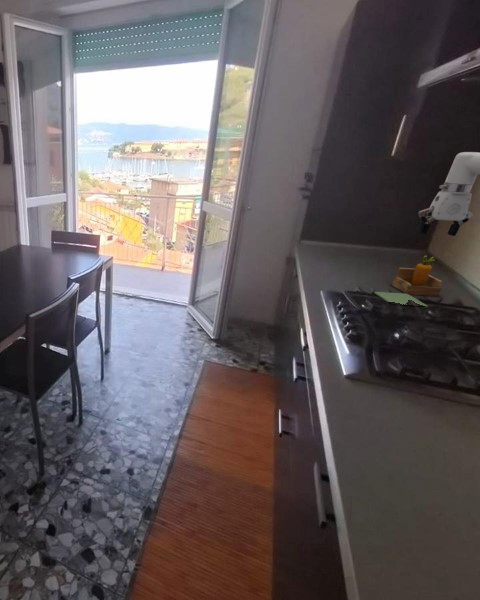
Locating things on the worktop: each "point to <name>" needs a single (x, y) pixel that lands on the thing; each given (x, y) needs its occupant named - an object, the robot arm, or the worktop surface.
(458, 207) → the robot arm
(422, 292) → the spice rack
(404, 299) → the mat
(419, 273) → the carrot
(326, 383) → the worktop surface
